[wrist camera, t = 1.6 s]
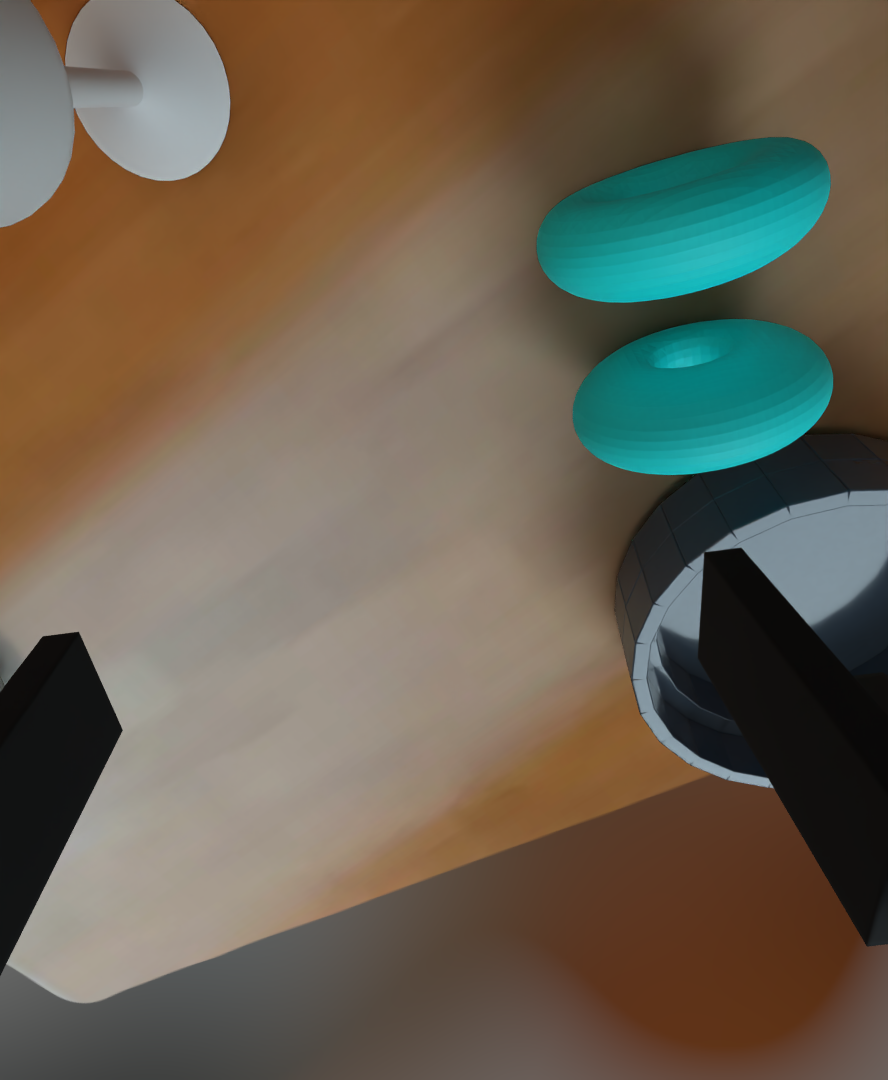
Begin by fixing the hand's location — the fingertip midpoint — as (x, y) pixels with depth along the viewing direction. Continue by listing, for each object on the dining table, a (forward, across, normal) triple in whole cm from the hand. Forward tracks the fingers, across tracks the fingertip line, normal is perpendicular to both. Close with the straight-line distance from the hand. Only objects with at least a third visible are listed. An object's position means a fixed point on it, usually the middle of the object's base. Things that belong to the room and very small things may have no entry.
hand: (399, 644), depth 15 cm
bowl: (+21, +19, -14) cm, 32 cm away
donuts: (+21, +12, +3) cm, 24 cm away
